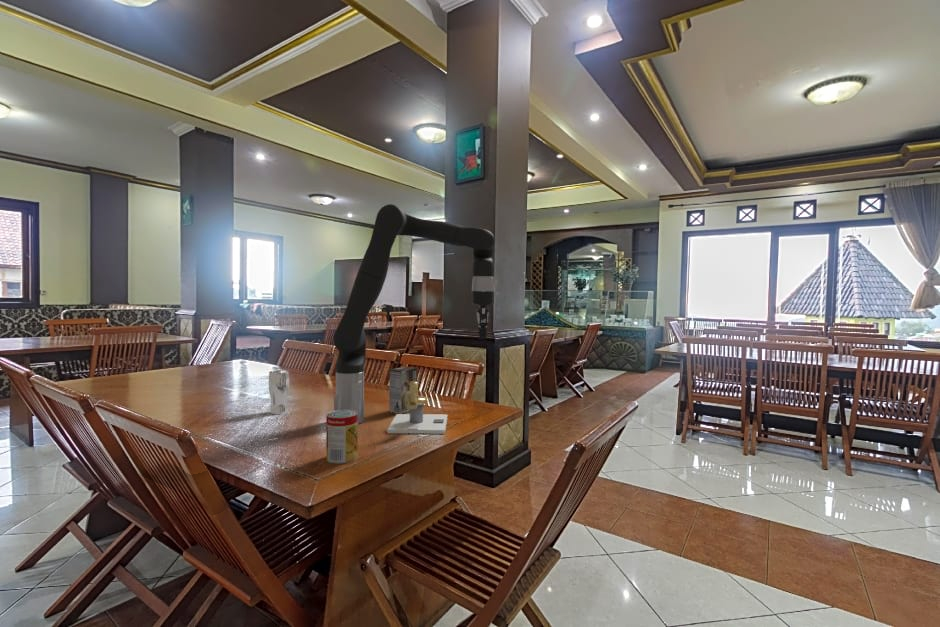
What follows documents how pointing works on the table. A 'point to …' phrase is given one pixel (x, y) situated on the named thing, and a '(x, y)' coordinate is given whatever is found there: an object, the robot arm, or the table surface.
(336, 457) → the canned food
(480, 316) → the robot arm
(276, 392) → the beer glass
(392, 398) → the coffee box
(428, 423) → the base
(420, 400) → the coupling
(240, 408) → the table surface
